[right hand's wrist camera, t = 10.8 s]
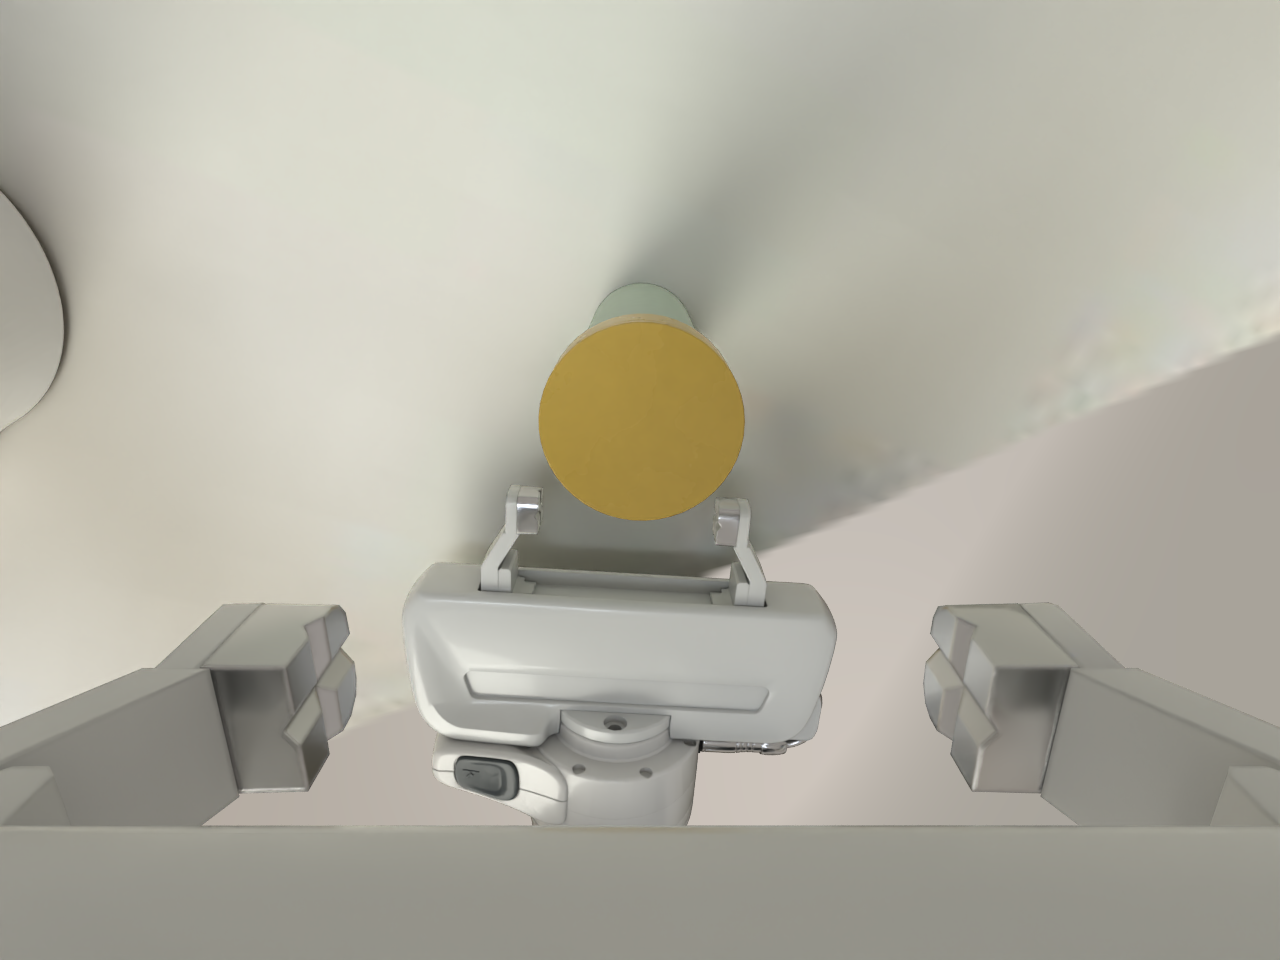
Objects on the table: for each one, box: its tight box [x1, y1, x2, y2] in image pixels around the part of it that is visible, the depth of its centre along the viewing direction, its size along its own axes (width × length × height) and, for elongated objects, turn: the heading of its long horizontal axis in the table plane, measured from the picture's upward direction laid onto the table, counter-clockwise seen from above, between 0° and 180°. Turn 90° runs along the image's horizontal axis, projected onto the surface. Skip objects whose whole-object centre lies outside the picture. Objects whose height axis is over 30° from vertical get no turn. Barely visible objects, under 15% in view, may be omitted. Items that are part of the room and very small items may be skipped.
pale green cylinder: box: [589, 283, 695, 329], centre depth 28 cm, size 5×5×16 cm
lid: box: [539, 314, 745, 521], centre depth 22 cm, size 6×6×2 cm
